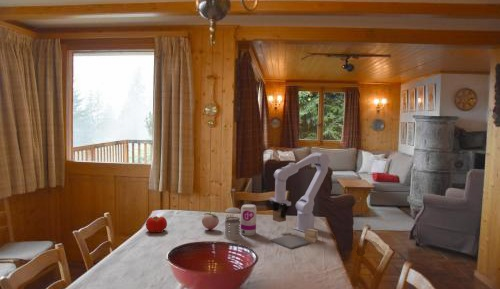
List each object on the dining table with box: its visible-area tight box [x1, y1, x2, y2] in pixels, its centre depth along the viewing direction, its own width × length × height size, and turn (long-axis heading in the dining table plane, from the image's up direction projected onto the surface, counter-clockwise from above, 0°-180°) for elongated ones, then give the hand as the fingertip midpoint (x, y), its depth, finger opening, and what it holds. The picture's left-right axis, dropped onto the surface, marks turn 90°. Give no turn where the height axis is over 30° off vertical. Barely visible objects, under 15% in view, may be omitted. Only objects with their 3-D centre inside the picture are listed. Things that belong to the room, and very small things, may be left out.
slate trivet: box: [269, 234, 311, 250], centre depth 185 cm, size 14×14×1 cm
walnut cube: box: [272, 209, 287, 223], centre depth 202 cm, size 5×5×5 cm
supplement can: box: [240, 203, 258, 237], centre depth 197 cm, size 8×8×15 cm
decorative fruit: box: [201, 211, 220, 231], centre depth 202 cm, size 9×8×10 cm
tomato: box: [145, 215, 168, 233], centre depth 198 cm, size 11×11×8 cm
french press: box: [222, 188, 243, 241], centre depth 190 cm, size 10×12×25 cm
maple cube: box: [304, 229, 319, 243], centre depth 189 cm, size 5×5×5 cm
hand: (279, 216), depth 202 cm, fingers closed on walnut cube, 5 cm apart
